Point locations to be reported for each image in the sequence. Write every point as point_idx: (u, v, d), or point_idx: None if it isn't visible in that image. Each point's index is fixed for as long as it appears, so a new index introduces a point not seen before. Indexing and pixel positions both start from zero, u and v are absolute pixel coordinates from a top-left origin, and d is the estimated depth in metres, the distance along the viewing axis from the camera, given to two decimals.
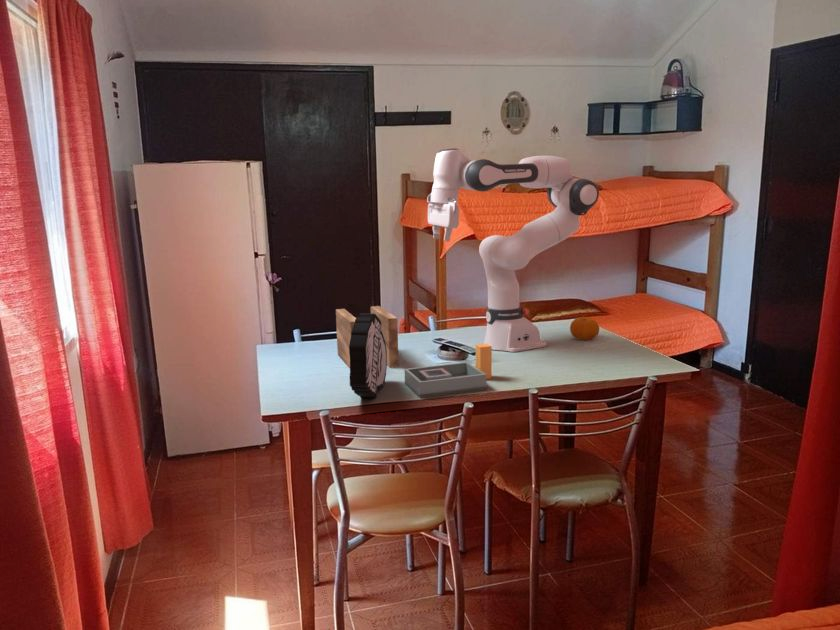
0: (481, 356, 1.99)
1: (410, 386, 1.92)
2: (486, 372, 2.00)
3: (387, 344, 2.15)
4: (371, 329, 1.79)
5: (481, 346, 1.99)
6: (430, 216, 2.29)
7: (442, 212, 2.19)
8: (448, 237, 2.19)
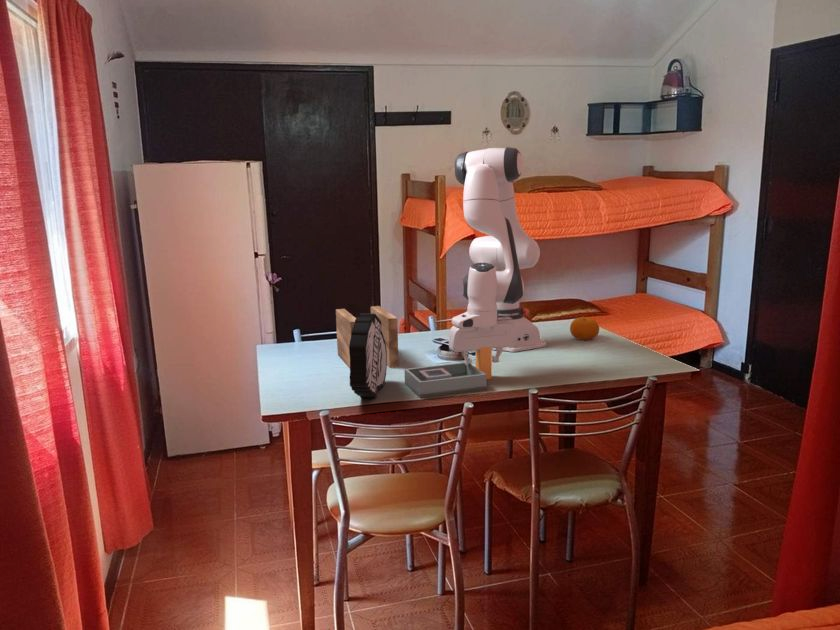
0: (481, 356, 1.99)
1: (410, 386, 1.92)
2: (486, 372, 2.00)
3: (387, 344, 2.15)
4: (371, 329, 1.79)
5: None
6: (461, 342, 1.96)
7: (493, 333, 1.99)
8: None
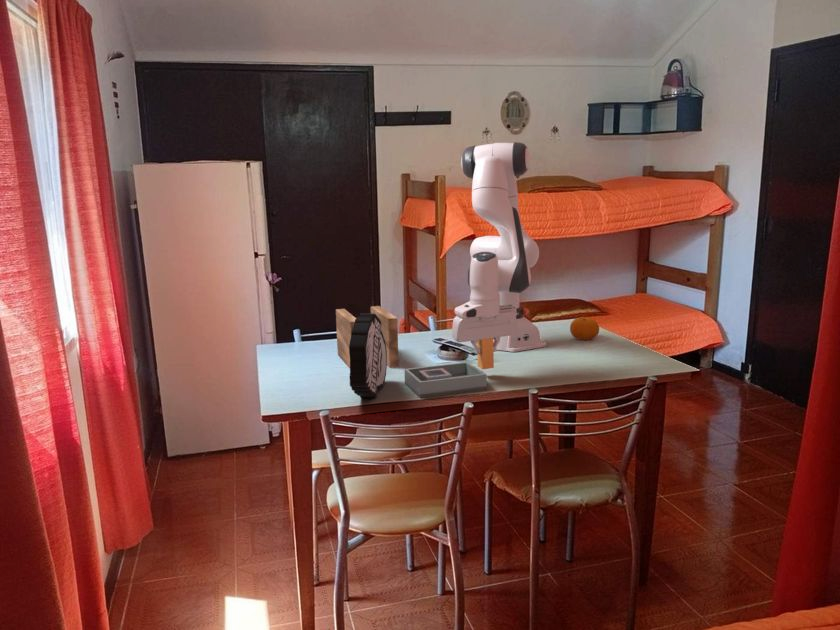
0: (483, 346, 1.99)
1: (410, 386, 1.92)
2: (488, 361, 2.01)
3: (387, 344, 2.15)
4: (371, 329, 1.79)
5: None
6: (465, 333, 1.96)
7: (496, 322, 1.99)
8: None
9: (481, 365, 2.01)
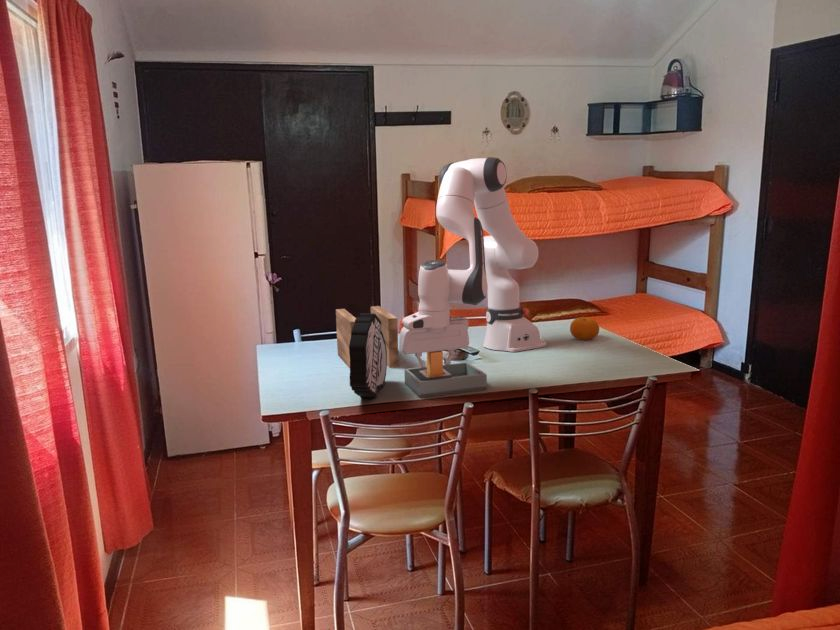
0: (432, 362, 1.90)
1: (410, 386, 1.92)
2: None
3: (387, 344, 2.15)
4: (371, 329, 1.79)
5: None
6: (412, 344, 1.87)
7: (446, 334, 1.90)
8: None
9: None
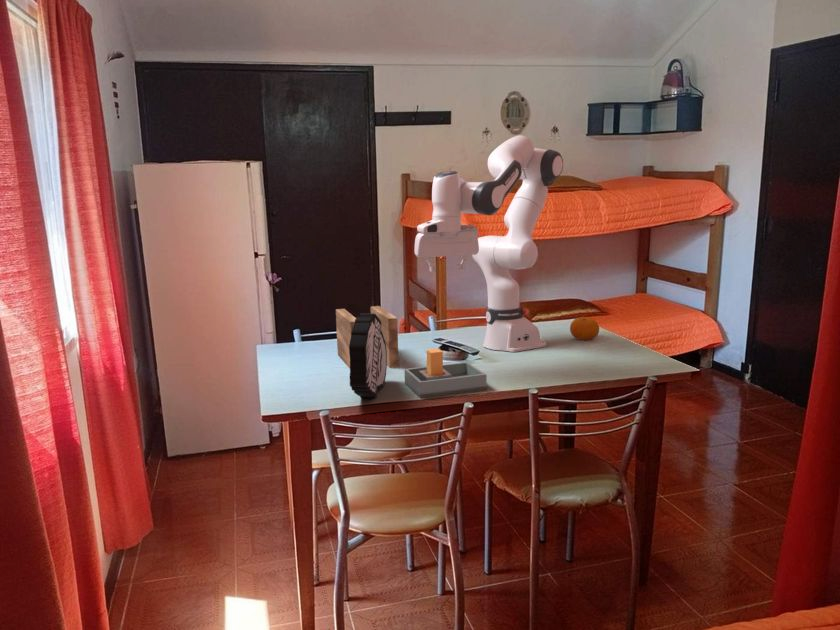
0: (432, 362, 1.90)
1: (410, 386, 1.92)
2: None
3: (387, 344, 2.15)
4: (371, 329, 1.79)
5: (432, 351, 1.90)
6: (426, 248, 2.02)
7: (458, 240, 2.05)
8: None
9: None
